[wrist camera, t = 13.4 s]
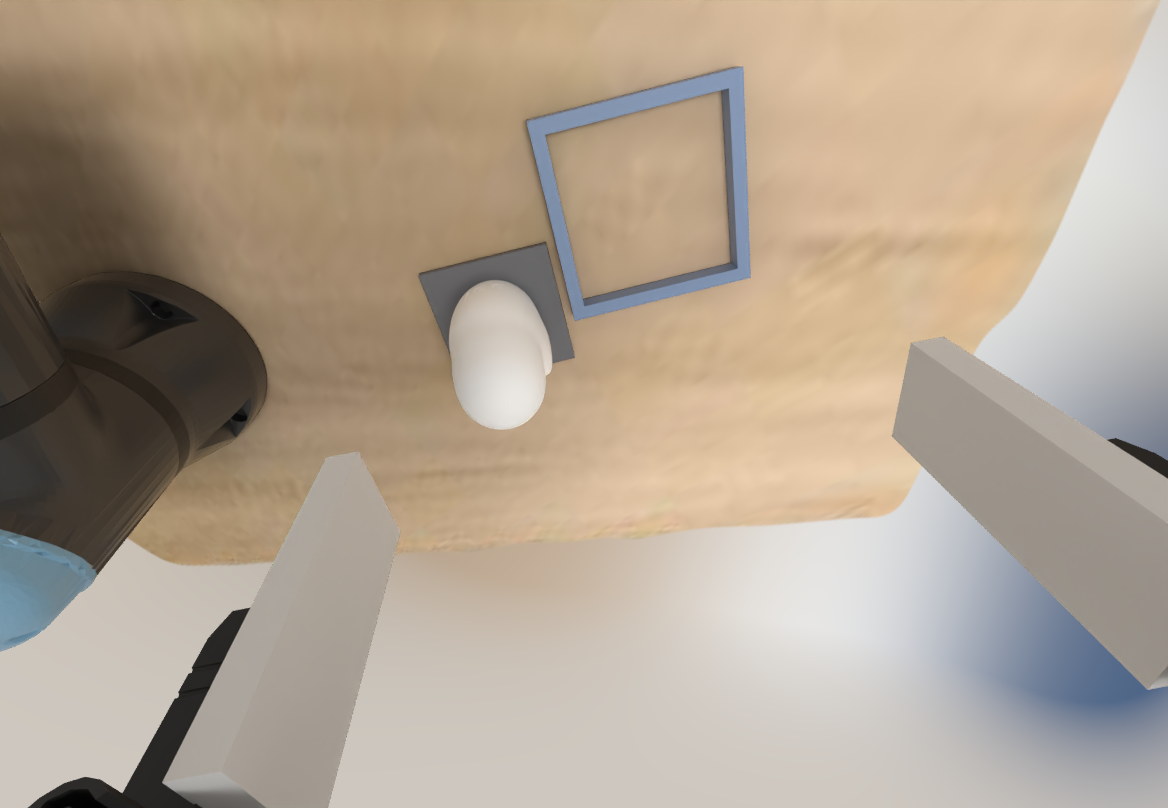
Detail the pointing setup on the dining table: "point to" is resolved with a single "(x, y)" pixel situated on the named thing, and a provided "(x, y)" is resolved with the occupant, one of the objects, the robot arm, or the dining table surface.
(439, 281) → the mat
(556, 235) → the cradle
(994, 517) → the robot arm
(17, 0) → the dining table surface
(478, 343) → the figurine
